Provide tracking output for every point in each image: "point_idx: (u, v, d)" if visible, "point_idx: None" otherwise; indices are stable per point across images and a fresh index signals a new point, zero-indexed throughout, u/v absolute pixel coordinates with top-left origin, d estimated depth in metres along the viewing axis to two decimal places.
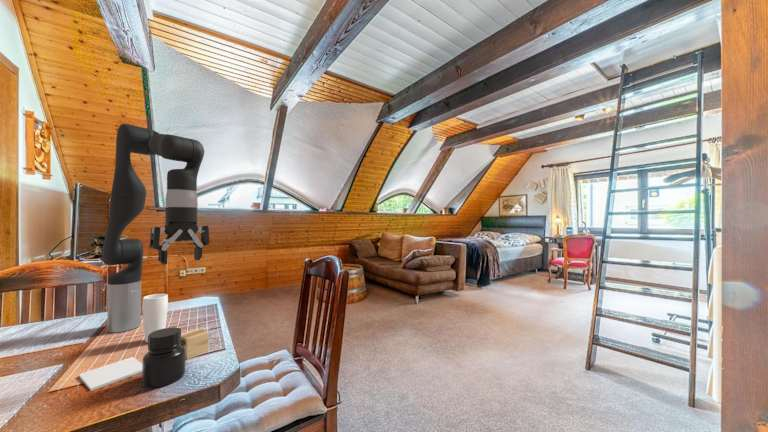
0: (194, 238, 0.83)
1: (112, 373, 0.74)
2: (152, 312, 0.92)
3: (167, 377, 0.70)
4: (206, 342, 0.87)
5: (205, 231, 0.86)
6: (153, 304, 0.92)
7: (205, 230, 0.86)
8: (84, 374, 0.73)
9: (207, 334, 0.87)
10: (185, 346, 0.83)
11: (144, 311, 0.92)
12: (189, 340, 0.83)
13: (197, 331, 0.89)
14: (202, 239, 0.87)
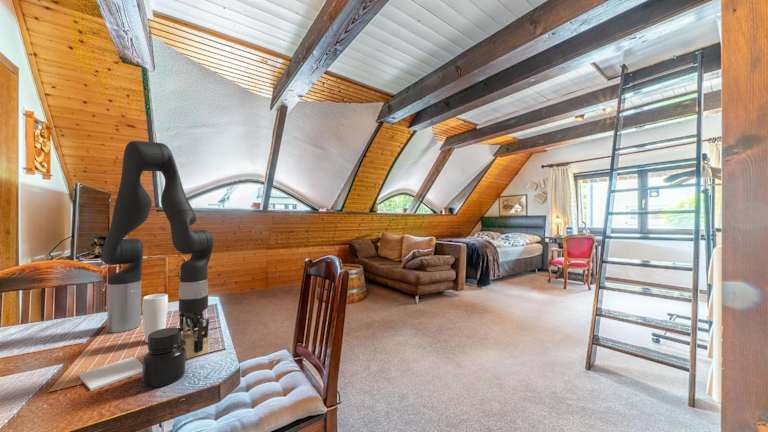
0: None
1: (112, 373, 0.74)
2: (152, 312, 0.92)
3: (167, 377, 0.70)
4: (206, 342, 0.87)
5: None
6: (153, 304, 0.92)
7: None
8: (84, 374, 0.73)
9: None
10: (185, 346, 0.83)
11: (144, 311, 0.92)
12: (188, 340, 0.83)
13: None
14: None
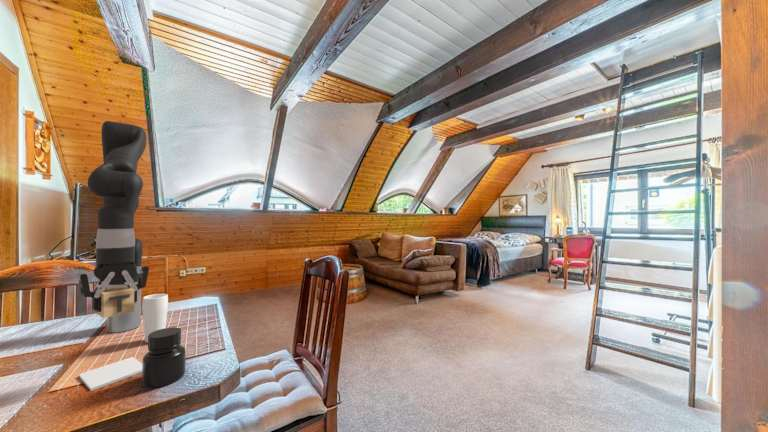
0: (128, 280, 0.76)
1: (112, 373, 0.74)
2: (152, 312, 0.92)
3: (167, 377, 0.70)
4: (102, 305, 0.71)
5: (144, 272, 0.79)
6: (153, 304, 0.92)
7: (144, 271, 0.79)
8: (84, 374, 0.73)
9: (103, 296, 0.71)
10: None
11: (144, 311, 0.92)
12: None
13: (123, 290, 0.75)
14: (139, 281, 0.80)
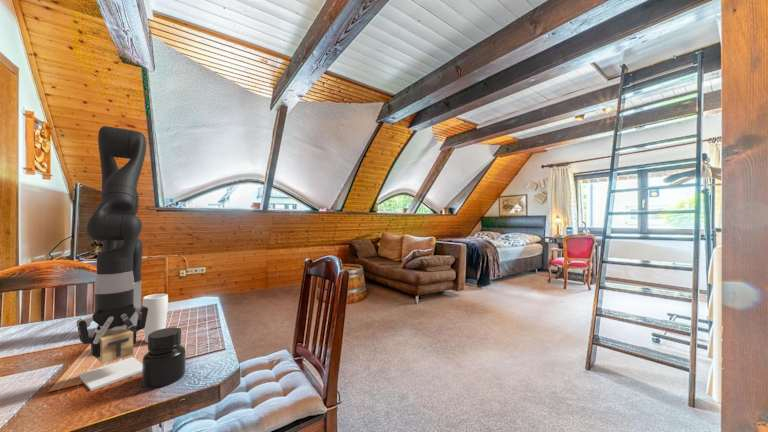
0: (127, 323, 0.76)
1: (112, 373, 0.74)
2: (152, 312, 0.92)
3: (167, 377, 0.70)
4: (101, 351, 0.71)
5: (143, 313, 0.79)
6: (153, 304, 0.92)
7: (143, 312, 0.79)
8: (84, 374, 0.73)
9: (102, 342, 0.71)
10: None
11: None
12: None
13: (122, 333, 0.75)
14: (138, 321, 0.80)
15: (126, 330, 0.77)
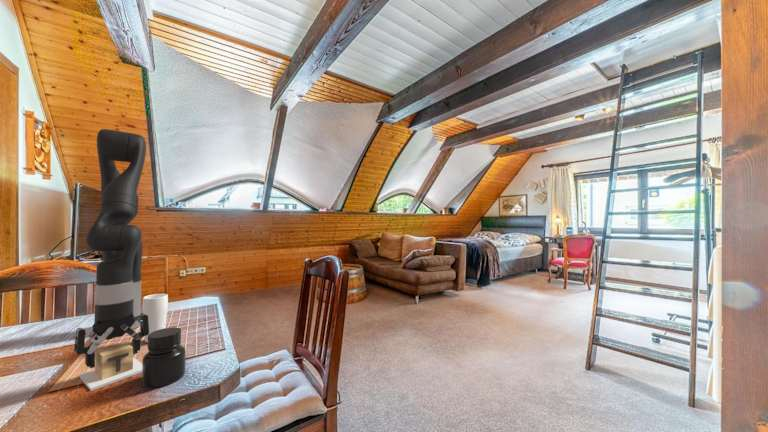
0: (129, 332, 0.76)
1: None
2: (152, 312, 0.92)
3: (167, 377, 0.70)
4: (101, 366, 0.71)
5: (144, 321, 0.79)
6: (153, 304, 0.92)
7: (144, 320, 0.79)
8: (84, 374, 0.73)
9: (102, 357, 0.71)
10: None
11: (144, 311, 0.92)
12: (95, 352, 0.74)
13: (121, 348, 0.75)
14: (142, 328, 0.81)
15: (126, 344, 0.77)
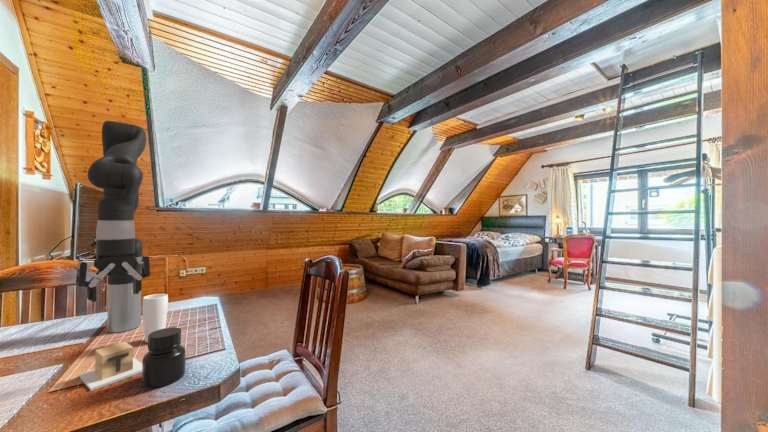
0: (130, 271, 0.77)
1: None
2: (152, 312, 0.92)
3: (167, 377, 0.70)
4: (101, 366, 0.71)
5: (145, 262, 0.80)
6: (153, 304, 0.92)
7: (145, 261, 0.80)
8: (84, 374, 0.73)
9: (102, 357, 0.71)
10: None
11: (144, 311, 0.92)
12: (95, 352, 0.74)
13: (121, 348, 0.75)
14: (143, 270, 0.81)
15: (126, 344, 0.77)
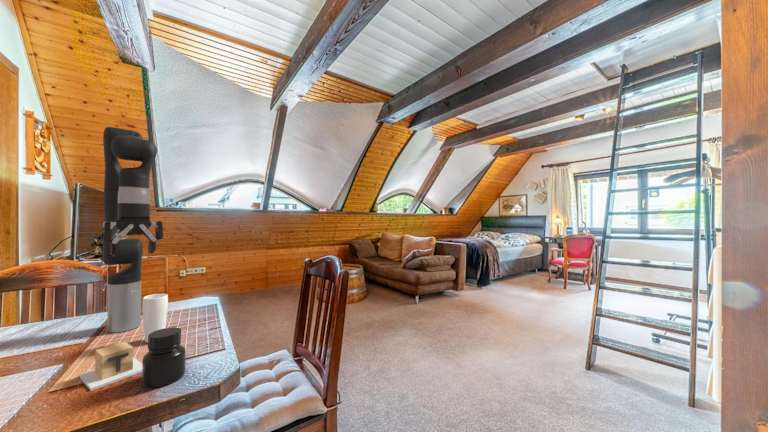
0: (146, 232, 0.88)
1: None
2: (152, 312, 0.92)
3: (167, 377, 0.70)
4: (101, 366, 0.71)
5: (159, 226, 0.91)
6: (153, 304, 0.92)
7: (159, 225, 0.91)
8: (84, 374, 0.73)
9: (102, 357, 0.71)
10: None
11: (144, 311, 0.92)
12: (95, 352, 0.74)
13: (121, 348, 0.75)
14: (157, 234, 0.92)
15: (126, 344, 0.77)
